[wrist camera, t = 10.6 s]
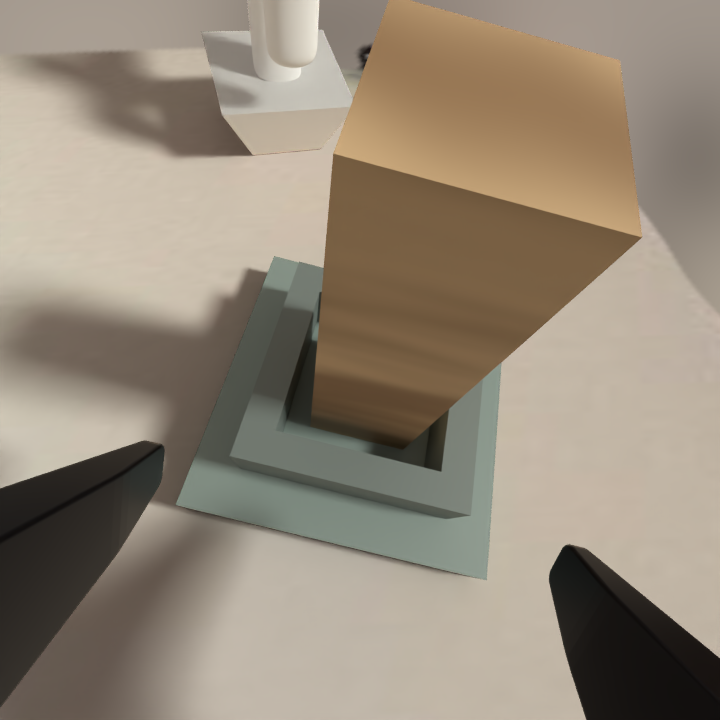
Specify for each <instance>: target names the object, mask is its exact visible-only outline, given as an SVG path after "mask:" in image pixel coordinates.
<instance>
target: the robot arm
mask: <svg viewBox="0 0 720 720" xmlns="http://www.w3.org/2000/svg"><path fill="white" fill-rule="evenodd" d="M164 451H165V450H164V447H163V445H162V444H158V443H154V442H150V441H141V442H138V443H135V444H132V445H129V446H126V447H123V448H120V449H117V450H114V451H111V452H108V453H105V454H102V455H99V456H96V457H93V458H90V459H87V460H84V461H81V462H78V463H75V464H72V465H69V466H66V467H63V468H60V469H57V470H54V471H51V472H48V473H45V474H42V475H39V476H36V477H33V478H30V479H27V480H24V481H21V482H18V483H15V484H12V485H9V486H6V487H3V488H0V707H1V706H2V705H3V703H4V702H5V701H6V699H7V698H8V697H9V695H10V694H11V693H12V691H13V690H14V689H15V688H16V686H17V685H18V684H19V682H20V681H21V680H22V678H23V677H24V676H25V674H26V673H27V672H28V670H29V669H30V668H31V667H32V665H33V664H34V663H35V661H36V660H37V659H38V657H39V656H40V655H41V653H42V652H43V651H44V649H45V648H46V647H47V646H48V644H49V643H50V642H51V640H52V639H53V638H54V636H55V635H56V634H57V632H58V631H59V630H60V628H61V627H62V626H63V625H64V623H65V622H66V621H67V619H68V618H69V617H70V615H71V614H72V613H73V611H74V610H75V609H76V607H77V606H78V605H79V604H80V602H81V601H82V600H83V598H84V597H85V596H86V594H87V593H88V592H89V590H90V589H91V588H92V586H93V585H94V584H95V583H96V581H97V580H98V579H99V577H100V576H101V575H102V573H103V572H104V571H105V569H106V568H107V567H108V565H109V564H110V563H111V561H112V560H113V559H114V557H115V556H116V555H117V553H118V552H119V550H120V549H121V547H122V546H123V544H124V542H125V541H126V539H127V538H128V536H129V534H130V533H131V531H132V529H133V528H134V526H135V525H136V523H137V521H138V520H139V518H140V516H141V515H142V513H143V511H144V510H145V508H146V507H147V505H148V503H149V502H150V500H151V498H152V497H153V495H154V493H155V492H156V490H157V489H158V487H159V485H160V482H161V479H162V471H163V462H164ZM549 583H550V588H551V592H552V597H553V601H554V606H555V610H556V614H557V619H558V623H559V628H560V632H561V636H562V641H563V645H564V649H565V653H566V657H567V660H568V664H569V667H570V670H571V674H572V677H573V680H574V683H575V686H576V689H577V692H578V695H579V698H580V702H581V705H582V708H583V711H584V714H585V717H586V720H720V658H719V657H718V656H716V655H715V654H714V653H713V652H712V651H710V650H709V649H708V648H707V647H705V646H704V645H703V644H702V643H701V642H699V641H698V640H697V639H696V638H695V637H693V636H692V635H691V634H690V633H688V632H687V631H686V630H685V629H684V628H682V627H681V626H680V625H679V624H677V623H676V622H675V621H674V620H673V619H671V618H670V617H669V616H668V615H667V614H665V613H664V612H663V611H662V610H660V609H659V608H658V607H657V606H656V605H654V604H653V603H652V602H651V601H649V600H648V599H647V598H646V597H645V596H643V595H642V594H641V593H640V592H639V591H637V590H636V589H635V588H634V587H632V586H631V585H630V584H629V583H628V582H626V581H625V580H624V579H623V578H621V577H620V576H619V575H618V574H617V573H615V572H614V571H613V570H612V569H611V568H609V567H608V566H607V565H606V564H604V563H603V562H602V561H601V560H600V559H598V558H597V557H596V556H595V555H593V554H592V553H591V552H590V551H589V550H587V549H585V548H582V547H578V546H574V545H570V544H569V545H565V546H564V547H563V548H562V550H561V552H560V554H559V556H558V557H557V559H556V561H555V563H554V565H553V567H552V569H551V571H550V574H549Z"/></svg>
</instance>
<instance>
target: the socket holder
mask: <svg viewBox="0 0 720 720" xmlns="http://www.w3.org/2000/svg"><path fill="white" fill-rule="evenodd" d="M323 271H324V268H321V267H317V266H314V265H310V264H306V263H302V262H299V263H298V262H294V261H291V260H287V259H283V258H279V257H275V256H274V258H273V261H272V263H271V266H270V268H269V271H268V273H267V276H266V278H265V281H264V283H263V286H262V289H261V291H260V294H259V296H258V299H257V301H256V304H255V306H254V309H253V311H252V314H251V316H250V319H249V321H248V324H247V326H246V329H245V331H244V334H243V336H242V339H241V341H240V344H239V346H238V349H237V352H236V354H235V357H234V359H233V362H232V364H231V367H230V369H229V372H228V374H227V377H226V379H225V382H224V384H223V387H222V389H221V392H220V394H219V397H218V399H217V402H216V404H215V407H214V410H213V412H212V415H211V417H210V420H209V422H208V425H207V427H206V430H205V432H204V435H203V437H202V440H201V442H200V445H199V447H198V450H197V452H196V455H195V457H194V460H193V462H192V465H191V467H190V470H189V473H188V475H187V478H186V480H185V483H184V485H183V488H182V490H181V493H180V495H179V498H178V500H177V503H176V505H177V506H181V507H184V508H188V509H192V510H197V511H201V512H205V513H209V514H213V515H217V516H221V517H226V518H230V519H234V520H238V521H242V522H246V523H250V524H254V525H259V526H263V527H267V528H271V529H275V530H279V531H283V532H288V533H292V534H296V535H300V536H304V537H308V538H312V539H317V540H321V541H325V542H329V543H333V544H337V545H341V546H345V547H350V548H354V549H358V550H362V551H366V552H370V553H374V554H379V555H383V556H387V557H391V558H395V559H399V560H403V561H408V562H412V563H416V564H420V565H424V566H428V567H432V568H436V569H441V570H445V571H449V572H453V573H457V574H461V575H465V576H470V577H474V578H479V579H483V580H487V567H488V552H489V538H490V523H491V508H492V494H493V479H494V464H495V449H496V435H497V420H498V405H499V390H500V376H501V363H500V364H499V365H498V366H497V367H496V368H494V369H493V370H492V371H491V372H490V373H489V374H488V375H487V376H485V377H484V378H483V379H482V380H481V381H480V382H479V383H478V384H476V385H475V386H474V387H473V388H472V389H471V390H470V391H469V392H467V393H466V394H465V395H464V396H463V397H462V398H461V399H460V400H458V401H457V402H456V403H455V404H454V405H453V406H452V407H451V408H449V409H448V410H447V411H446V412H445V413H444V414H443V415H442V416H440V417H439V418H438V419H437V420H436V421H435V422H434V423H433V424H431V425H430V426H429V427H428V428H427V429H426V430H425V431H424V432H422V433H421V434H420V435H419V436H418V437H417V438H416V439H415V440H413V441H412V442H411V443H410V444H409V445H408V446H407V447H406V448H404V449H403V450H402V449H398V448H394V447H389V446H385V445H381V444H377V443H373V442H369V441H365V440H361V439H357V438H353V437H349V436H345V435H341V434H337V433H333V432H329V431H325V430H321V429H317V428H313V427H310V424H311V412H312V400H313V389H314V377H315V365H316V353H317V341H318V330H319V318H320V306H321V294H322V282H323Z"/></svg>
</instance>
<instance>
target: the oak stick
mask: <svg viewBox="0 0 720 720" xmlns="http://www.w3.org/2000/svg"><path fill="white" fill-rule="evenodd" d="M641 238H642V233H641V225H640V217H639V209H638V201H637V193H636V185H635V177H634V169H633V162H632V153H631V145H630V137H629V129H628V121H627V113H626V106H625V97H624V89H623V81H622V73H621V65H620V60H617V59H613V58H610V57H606V56H602V55H599V54H595V53H592V52H589V51H585V50H582V49H578V48H575V47H571V46H567V45H564V44H560V43H557V42H554V41H550V40H547V39H543V38H540V37H536V36H532V35H529V34H526V33H522V32H519V31H515V30H512V29H508V28H504V27H501V26H498V25H494V24H491V23H487V22H484V21H480V20H477V19H473V18H470V17H466V16H463V15H459V14H456V13H453V12H449V11H446V10H442V9H438V8H435V7H432V6H428V5H425V4H421V3H417V2H414V1H411V0H389V2H388V5H387V7H386V10H385V13H384V16H383V18H382V21H381V24H380V27H379V29H378V32H377V35H376V38H375V40H374V43H373V46H372V49H371V51H370V54H369V57H368V60H367V62H366V65H365V68H364V71H363V73H362V76H361V79H360V82H359V84H358V87H357V90H356V93H355V95H354V98H353V101H352V104H351V106H350V109H349V112H348V115H347V118H346V120H345V123H344V126H343V129H342V131H341V134H340V137H339V140H338V142H337V145H336V148H335V151H334V153H333V164H332V176H331V188H330V200H329V212H328V223H327V235H326V247H325V259H324V271H323V282H322V294H321V306H320V318H319V330H318V341H317V353H316V365H315V377H314V389H313V400H312V412H311V424H310V427H313V428H317V429H321V430H325V431H329V432H333V433H337V434H341V435H345V436H349V437H353V438H357V439H361V440H365V441H369V442H373V443H377V444H381V445H385V446H389V447H394V448H398V449H402V450H403V449H404V448H406V447H407V446H408V445H409V444H410V443H411V442H412V441H413V440H415V439H416V438H417V437H418V436H419V435H420V434H421V433H422V432H424V431H425V430H426V429H427V428H428V427H429V426H430V425H431V424H433V423H434V422H435V421H436V420H437V419H438V418H439V417H440V416H442V415H443V414H444V413H445V412H446V411H447V410H448V409H449V408H451V407H452V406H453V405H454V404H455V403H456V402H457V401H458V400H460V399H461V398H462V397H463V396H464V395H465V394H466V393H467V392H469V391H470V390H471V389H472V388H473V387H474V386H475V385H476V384H478V383H479V382H480V381H481V380H482V379H483V378H484V377H485V376H487V375H488V374H489V373H490V372H491V371H492V370H493V369H494V368H496V367H497V366H498V365H499V364H500V363H501V362H502V361H503V360H505V359H506V358H507V357H508V356H509V355H510V354H511V353H513V352H514V351H515V350H516V349H517V348H518V347H519V346H520V345H522V344H523V343H524V342H525V341H526V340H527V339H528V338H529V337H531V336H532V335H533V334H534V333H535V332H536V331H537V330H538V329H540V328H541V327H542V326H543V325H544V324H545V323H546V322H547V321H549V320H550V319H551V318H552V317H553V316H554V315H555V314H556V313H558V312H559V311H560V310H561V309H562V308H563V307H564V306H565V305H567V304H568V303H569V302H570V301H571V300H572V299H573V298H574V297H576V296H577V295H578V294H579V293H580V292H581V291H582V290H583V289H585V288H586V287H587V286H588V285H589V284H590V283H591V282H592V281H594V280H595V279H596V278H597V277H598V276H599V275H600V274H601V273H603V272H604V271H605V270H606V269H607V268H608V267H609V266H610V265H612V264H613V263H614V262H615V261H616V260H617V259H618V258H619V257H621V256H622V255H623V254H624V253H625V252H626V251H627V250H628V249H630V248H631V247H632V246H633V245H634V244H635V243H636V242H637V241H639V240H640V239H641Z"/></svg>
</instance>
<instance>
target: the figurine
mask: <svg viewBox="0 0 720 720" xmlns="http://www.w3.org/2000/svg"><path fill="white" fill-rule="evenodd" d="M247 5H248V15H249V25H250V31H213V32H201V33H202V37H203V41H204V45H205V49H206V53H207V57H208V61H209V65H210V69H211V73H212V77H213V81H214V85H215V89H216V93H217V97H218V101H219V105H220V109H221V113H222V116H223V117H224V118H225V120H226V121H227V122H228V124H229V125H230V126H231V127H232V129H233V130H234V131H235V133H236V134H237V135H238V137H239V138H240V139H241V140H242V142H243V143H244V144H245V146H246V147H247V148H248V150H249V151H250V152H251V153H252V155H261V154H272V153H283V152H294V151H305V150H316V149H322V147H323V146H324V145H325V144H326V142H327V141H328V140H329V139H330V138H331V136H332V135H333V134H334V133H335V132H336V130H337V129H338V128H339V127H340V126H341V124H342V123H343V122H344V121H345V120H346V118H347V115H348V112H349V109H350V106H351V104H352V101H353V98H352V96H351V93H350V91H349V89H348V87H347V84H346V82H345V80H344V77H343V75H342V73H341V71H340V68H339V66H338V64H337V62H336V59H335V57H334V55H333V52H332V50H331V48H330V45H329V43H328V41H327V39H326V36H325V34H324V32H323V30H318V15H319V0H247Z"/></svg>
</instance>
